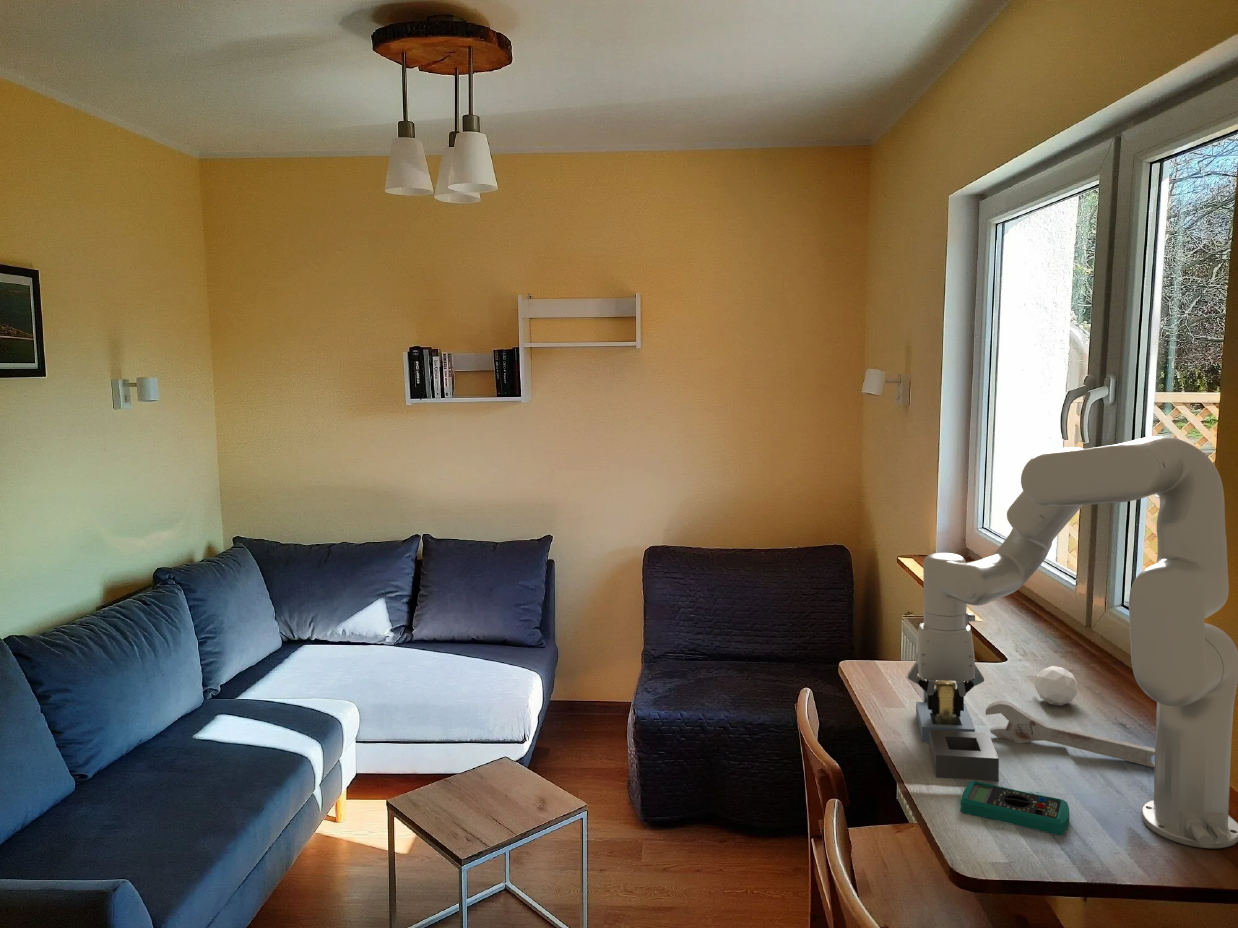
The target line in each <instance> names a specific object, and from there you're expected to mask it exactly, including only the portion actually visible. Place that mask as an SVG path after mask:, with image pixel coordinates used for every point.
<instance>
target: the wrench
mask: <svg viewBox="0 0 1238 928" xmlns="http://www.w3.org/2000/svg"><path fill="white" fill-rule="evenodd" d="M998 714H1001V716H1003V717H1004V718H1005V719H1006V721H1008V722H1007V724H1006V726H1002V725H1001V726H994V727H991V728H989V731H990V732H989V733H991V734H992V735H994V736H995V737H996V738H999V739H1000V740H1004V741H1009V742H1014V743H1020V744H1025V743H1030V742H1035V741H1038V742H1039V741H1042V742H1044V741H1046V742H1049V743H1054V744H1057V745H1063V746H1067V747H1071V748H1075V749H1079V750H1082V751H1087V752H1091V753H1094V754H1097V755H1098V754H1099V755H1102V756H1105V757H1111V758H1114V759H1119V760H1123V761H1126V762H1131V763H1134V764H1138V765H1142V766H1146V767H1150V768H1155V761H1153V760H1152V757H1154V756H1155V747H1154V748H1153V747H1150V746H1145V745H1142V744H1136V743H1133V742H1130V741H1129V742H1128V741H1124V740H1119V739H1116V738H1111V737H1106V736H1102V735H1097V734H1093V733H1089V732H1084V731H1080V730H1076V729H1071V728H1067V727H1061V726H1058V725H1053V724H1049V723H1046V722H1044V721H1042V720H1040V719H1038V718H1037V717H1034V716H1032V715H1030V714H1029V713H1027V712H1026V711H1024V710H1023V709H1021V708H1019V707H1018V706H1017V705H1015V704H1014V703H1013V702H1009V701H1005V700H1004V701H1003V700H998V701H994V702H992V703H990V704H988V705H987V706H986V708H985V716H988V715H998Z"/></svg>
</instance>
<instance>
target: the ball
mask: <svg viewBox="0 0 1238 928" xmlns="http://www.w3.org/2000/svg"><path fill="white" fill-rule="evenodd" d="M1034 685H1035V686H1034V688H1035V690H1036V693H1037V694H1038V696H1039V697H1040V699H1042V700H1044V701H1045V702H1047V703H1048V704H1050V705H1054V706H1059V707H1061V706H1064V705H1066V704H1068V703H1071V702H1072V701H1073V700H1074V699H1075V697H1076V695H1077V694H1078V686H1079V684H1078V681H1077V680H1076V678H1075V676H1074V674H1073V673H1072V672H1070V671H1069V670H1067V669H1065V668H1063V667H1060V666H1056V665H1051V666H1048V667H1046V668H1044V669H1042V670H1041V671H1039V673H1038V674H1037V675H1036V677H1035V683H1034Z"/></svg>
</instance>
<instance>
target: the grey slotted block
mask: <svg viewBox="0 0 1238 928" xmlns="http://www.w3.org/2000/svg"><path fill="white" fill-rule="evenodd" d="M989 733H990V732H979V731H975V732H963V731H942V730H929V754H930V758H931V762H932V766H933V770H934V774H935V778H939V779H954V780H955V779H956V780H969V781H970V780H971V781H989V782H999V781H1000V777H999V776H1000V773H999V772H1000V771H999V769H1000V765H999V764H1000V761H999V760H1000V759H999V756H998V753H997V750H996V748H995V746H994V744H993V741H992V739H991V736H990V734H989Z"/></svg>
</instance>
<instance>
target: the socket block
mask: <svg viewBox="0 0 1238 928" xmlns="http://www.w3.org/2000/svg"><path fill="white" fill-rule="evenodd" d="M960 712H961V716H960V717H957V716H956V725H939V724H936V720H935V716H933V715H932V711H931V710H928V702H923V701H916V702H915V717H916V721H917V726H918V731H919V733H920V737H921V742H922V743H927V744H928V743H929V730H942V731H963V732H976V728H975V725H974V723H973V721H972V718H971V716H970V713H969V709H968V707H967V705H966V703H964V711H960Z"/></svg>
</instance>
